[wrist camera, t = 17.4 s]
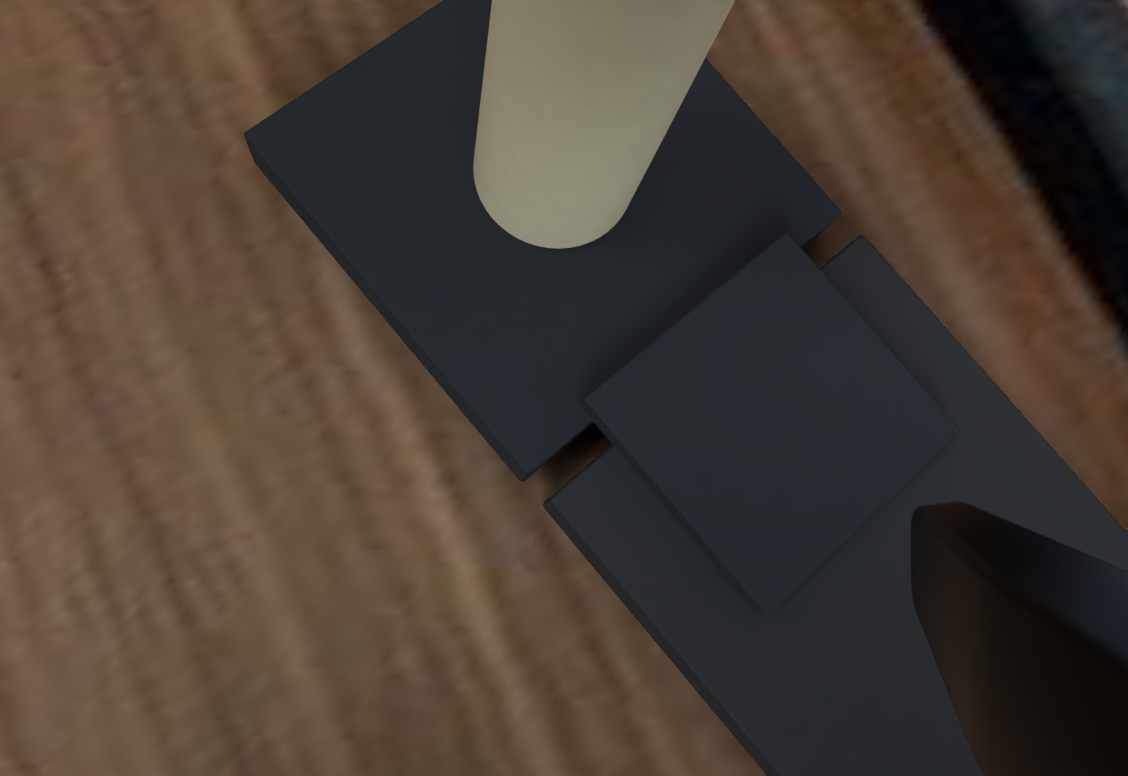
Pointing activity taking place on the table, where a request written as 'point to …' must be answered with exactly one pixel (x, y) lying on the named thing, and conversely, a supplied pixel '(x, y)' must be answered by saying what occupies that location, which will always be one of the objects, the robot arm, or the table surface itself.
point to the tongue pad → (611, 266)
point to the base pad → (839, 571)
